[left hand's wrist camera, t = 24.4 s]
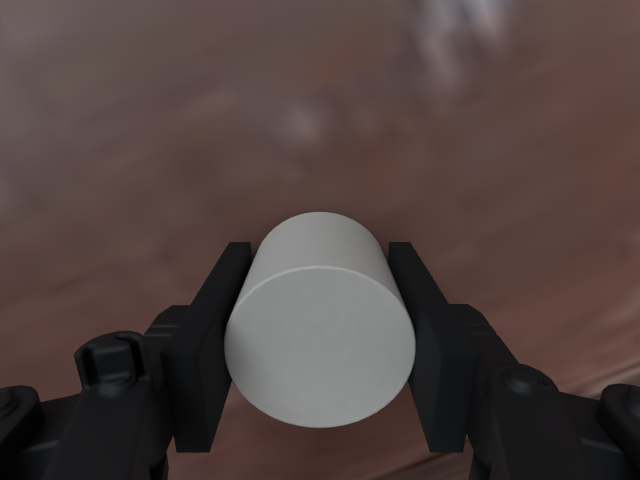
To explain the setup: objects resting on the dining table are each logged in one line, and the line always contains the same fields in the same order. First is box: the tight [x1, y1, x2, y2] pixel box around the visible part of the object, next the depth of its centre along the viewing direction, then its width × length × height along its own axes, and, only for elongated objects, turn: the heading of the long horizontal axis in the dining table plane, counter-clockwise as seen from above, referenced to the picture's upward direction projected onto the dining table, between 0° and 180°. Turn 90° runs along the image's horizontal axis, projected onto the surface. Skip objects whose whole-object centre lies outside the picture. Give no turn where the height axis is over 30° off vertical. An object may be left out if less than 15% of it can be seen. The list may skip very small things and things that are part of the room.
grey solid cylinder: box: [224, 212, 416, 428], centre depth 12 cm, size 5×5×5 cm
